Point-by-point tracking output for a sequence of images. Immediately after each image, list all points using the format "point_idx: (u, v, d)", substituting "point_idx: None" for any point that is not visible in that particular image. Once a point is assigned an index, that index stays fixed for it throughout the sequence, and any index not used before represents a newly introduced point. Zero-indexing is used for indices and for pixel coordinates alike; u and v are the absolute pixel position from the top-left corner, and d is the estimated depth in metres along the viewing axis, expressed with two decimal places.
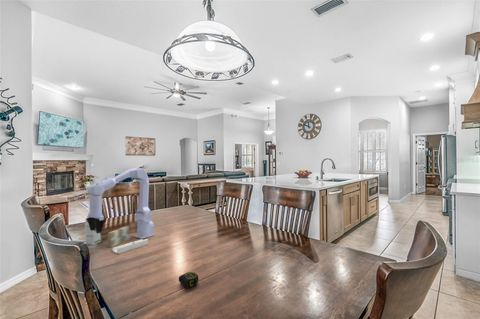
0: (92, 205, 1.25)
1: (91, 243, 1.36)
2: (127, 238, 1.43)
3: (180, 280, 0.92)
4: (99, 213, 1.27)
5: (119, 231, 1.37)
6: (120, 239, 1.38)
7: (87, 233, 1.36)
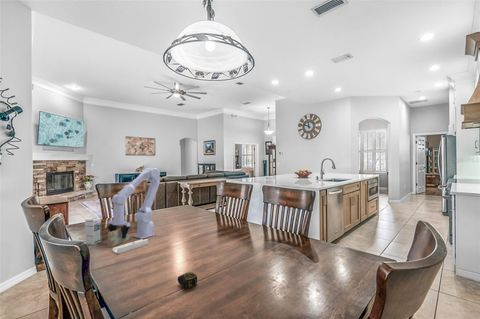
0: (116, 213, 1.36)
1: (91, 243, 1.36)
2: (127, 238, 1.43)
3: (179, 280, 0.92)
4: (123, 220, 1.39)
5: (119, 231, 1.37)
6: (120, 239, 1.38)
7: (87, 233, 1.36)
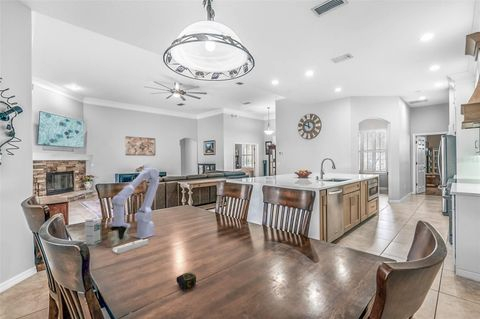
0: (116, 214, 1.36)
1: (91, 243, 1.36)
2: (127, 238, 1.44)
3: (178, 281, 0.91)
4: (123, 221, 1.39)
5: None
6: None
7: (87, 233, 1.36)
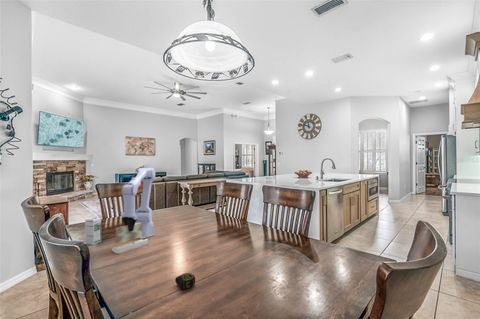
0: (130, 205, 1.29)
1: (91, 243, 1.36)
2: (139, 235, 1.35)
3: (177, 281, 0.91)
4: (133, 212, 1.30)
5: None
6: (129, 236, 1.30)
7: (87, 233, 1.36)
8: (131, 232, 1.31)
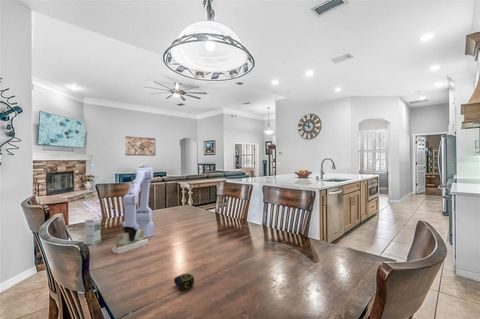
0: (131, 214, 1.29)
1: (91, 243, 1.36)
2: None
3: (175, 282, 0.91)
4: (134, 222, 1.30)
5: None
6: (130, 243, 1.30)
7: (87, 233, 1.36)
8: None
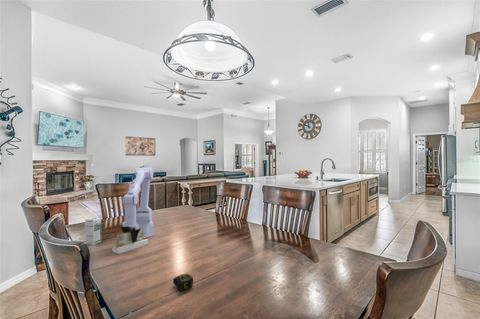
0: (131, 214, 1.29)
1: (91, 243, 1.36)
2: None
3: (174, 282, 0.90)
4: (134, 222, 1.30)
5: (129, 234, 1.29)
6: (130, 243, 1.30)
7: (87, 233, 1.36)
8: None
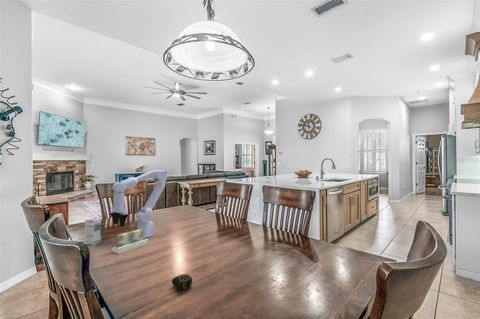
0: (115, 201, 1.38)
1: (91, 243, 1.36)
2: None
3: (173, 282, 0.90)
4: (122, 208, 1.40)
5: (129, 234, 1.29)
6: (130, 243, 1.30)
7: (87, 233, 1.36)
8: (132, 239, 1.30)
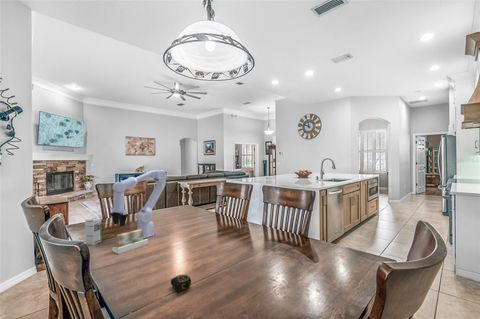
0: (115, 201, 1.38)
1: (91, 243, 1.36)
2: None
3: (172, 283, 0.90)
4: (122, 208, 1.40)
5: (129, 234, 1.29)
6: (130, 243, 1.30)
7: (87, 233, 1.36)
8: (132, 239, 1.30)
